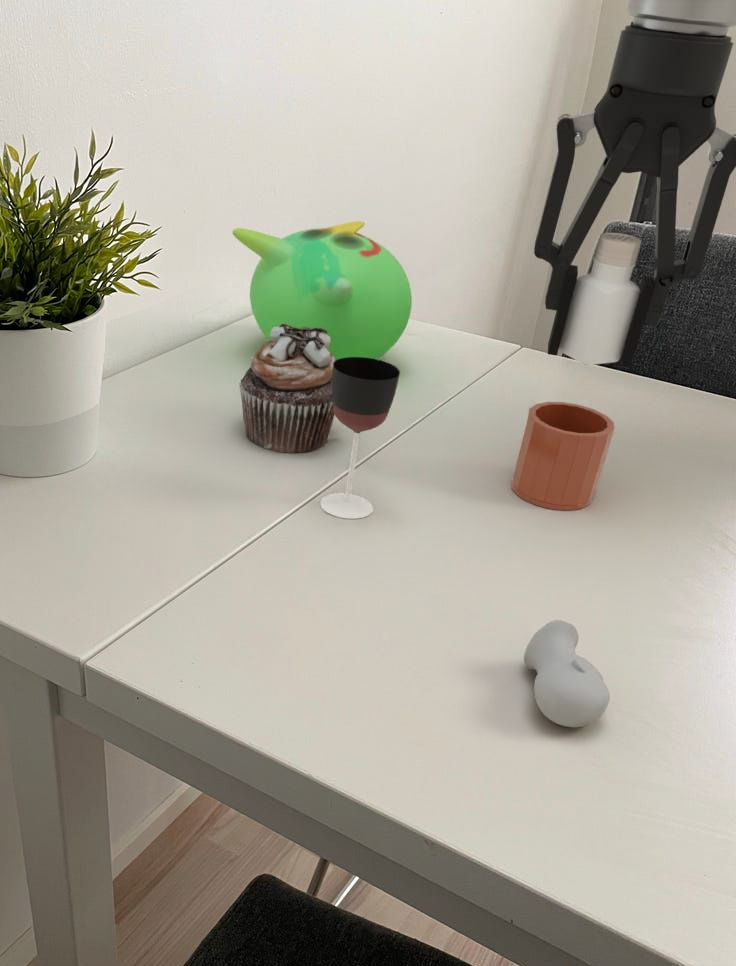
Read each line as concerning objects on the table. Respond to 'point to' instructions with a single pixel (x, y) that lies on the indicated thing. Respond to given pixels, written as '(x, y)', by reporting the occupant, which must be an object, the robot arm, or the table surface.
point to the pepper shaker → (603, 303)
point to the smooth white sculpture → (565, 677)
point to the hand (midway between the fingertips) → (588, 354)
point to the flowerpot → (561, 455)
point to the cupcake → (290, 391)
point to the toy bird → (330, 287)
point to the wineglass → (359, 417)
